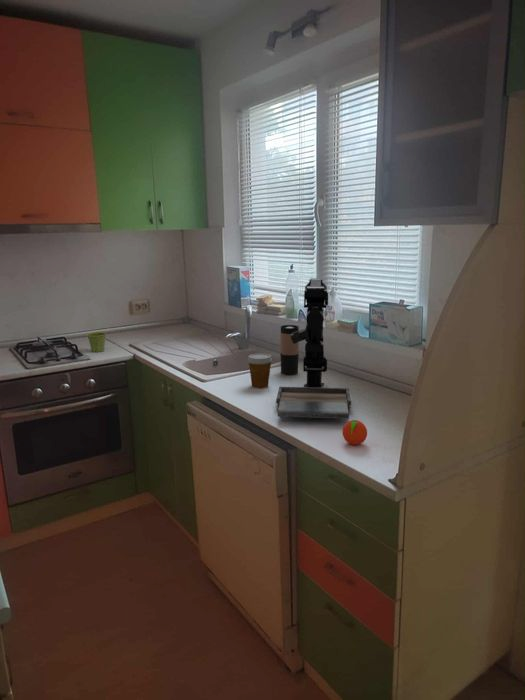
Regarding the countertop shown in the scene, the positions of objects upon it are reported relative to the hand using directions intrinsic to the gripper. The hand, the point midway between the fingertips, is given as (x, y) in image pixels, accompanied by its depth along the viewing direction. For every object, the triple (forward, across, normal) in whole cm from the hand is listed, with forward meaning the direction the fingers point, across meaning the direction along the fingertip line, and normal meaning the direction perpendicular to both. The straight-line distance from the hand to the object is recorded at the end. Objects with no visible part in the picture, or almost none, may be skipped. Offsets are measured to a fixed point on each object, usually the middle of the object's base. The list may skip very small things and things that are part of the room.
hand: (314, 365), depth 184 cm
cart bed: (+12, +7, 0) cm, 14 cm away
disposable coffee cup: (+12, -13, -21) cm, 28 cm away
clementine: (+12, +40, +12) cm, 44 cm away
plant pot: (+12, -65, -109) cm, 128 cm away
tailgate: (+10, +14, 0) cm, 17 cm away
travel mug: (+12, -33, -11) cm, 36 cm away
